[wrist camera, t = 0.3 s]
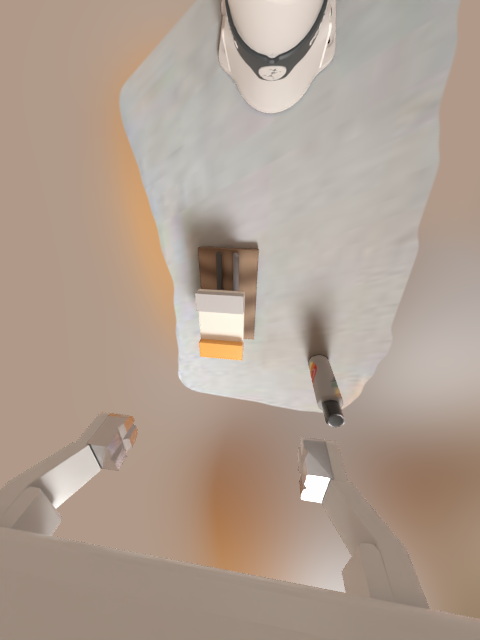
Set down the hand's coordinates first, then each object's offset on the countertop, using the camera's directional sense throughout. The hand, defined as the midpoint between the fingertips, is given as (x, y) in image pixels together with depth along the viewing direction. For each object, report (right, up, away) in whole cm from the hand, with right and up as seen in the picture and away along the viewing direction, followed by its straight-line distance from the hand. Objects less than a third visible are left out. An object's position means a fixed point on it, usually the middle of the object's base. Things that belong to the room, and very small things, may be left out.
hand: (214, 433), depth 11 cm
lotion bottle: (+24, -7, +54) cm, 59 cm away
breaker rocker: (-3, +5, +41) cm, 42 cm away
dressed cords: (-2, +15, +44) cm, 46 cm away
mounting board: (-2, +12, +47) cm, 49 cm away
